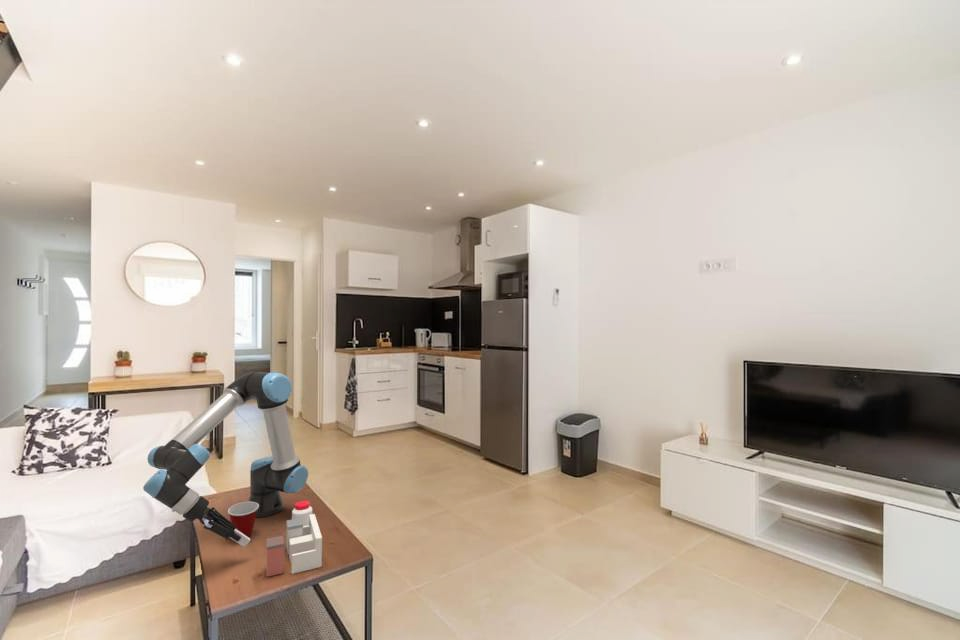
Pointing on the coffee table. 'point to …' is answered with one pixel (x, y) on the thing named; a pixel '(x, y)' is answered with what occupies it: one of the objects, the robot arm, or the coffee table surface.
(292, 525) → the grey capped white pillar
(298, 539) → the rack
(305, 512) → the pill bottle
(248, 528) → the plastic cup
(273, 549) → the capped red pillar
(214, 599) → the coffee table surface
